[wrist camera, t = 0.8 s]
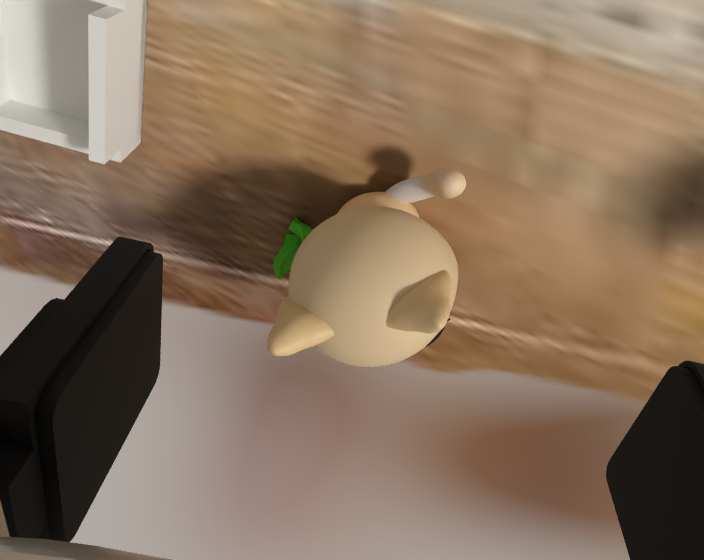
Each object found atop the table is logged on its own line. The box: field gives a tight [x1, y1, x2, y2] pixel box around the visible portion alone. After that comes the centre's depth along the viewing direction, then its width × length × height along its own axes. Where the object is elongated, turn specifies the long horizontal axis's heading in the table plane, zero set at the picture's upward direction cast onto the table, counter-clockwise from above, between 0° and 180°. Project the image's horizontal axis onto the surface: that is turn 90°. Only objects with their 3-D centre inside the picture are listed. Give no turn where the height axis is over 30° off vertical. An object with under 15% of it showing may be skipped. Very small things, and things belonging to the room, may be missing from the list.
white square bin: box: [0, 0, 147, 164], centre depth 39 cm, size 11×10×6 cm
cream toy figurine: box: [267, 168, 466, 367], centre depth 41 cm, size 15×10×15 cm
